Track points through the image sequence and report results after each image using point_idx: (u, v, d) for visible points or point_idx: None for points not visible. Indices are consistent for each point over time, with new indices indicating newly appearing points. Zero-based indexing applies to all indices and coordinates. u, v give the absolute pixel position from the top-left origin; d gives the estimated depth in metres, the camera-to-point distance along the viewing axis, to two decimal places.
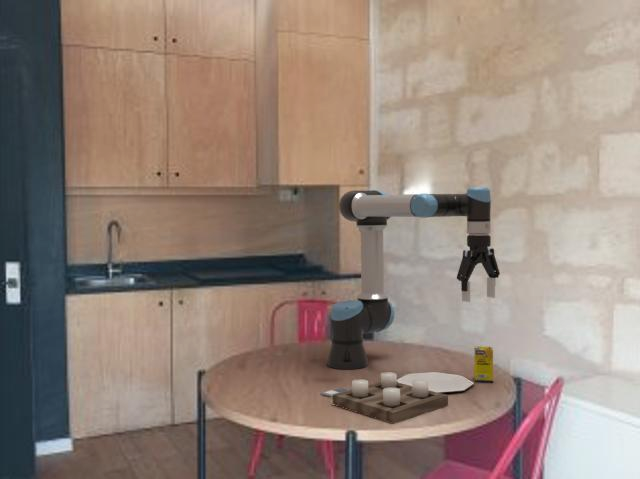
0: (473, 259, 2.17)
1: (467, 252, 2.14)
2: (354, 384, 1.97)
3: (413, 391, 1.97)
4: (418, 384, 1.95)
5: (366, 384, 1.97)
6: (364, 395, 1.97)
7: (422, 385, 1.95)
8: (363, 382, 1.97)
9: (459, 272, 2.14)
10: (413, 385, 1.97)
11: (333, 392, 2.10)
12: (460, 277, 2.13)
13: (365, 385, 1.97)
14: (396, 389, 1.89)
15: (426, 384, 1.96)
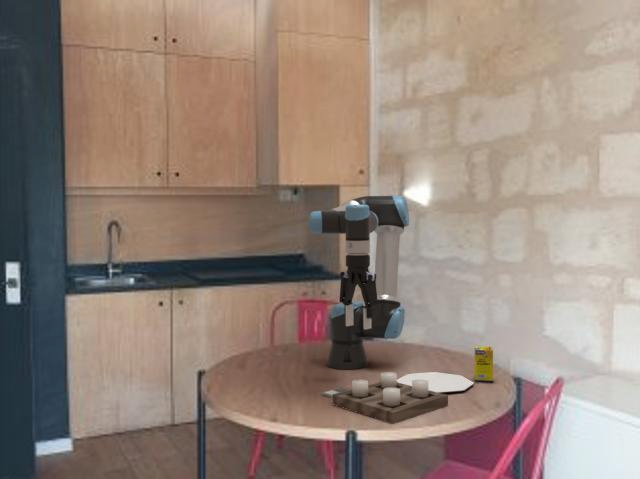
0: None
1: None
2: (354, 384, 1.97)
3: (413, 391, 1.97)
4: (418, 384, 1.95)
5: (366, 384, 1.97)
6: (364, 395, 1.97)
7: (422, 385, 1.95)
8: (363, 382, 1.97)
9: None
10: (413, 385, 1.97)
11: (333, 392, 2.10)
12: None
13: (365, 385, 1.97)
14: (396, 389, 1.89)
15: (426, 384, 1.96)
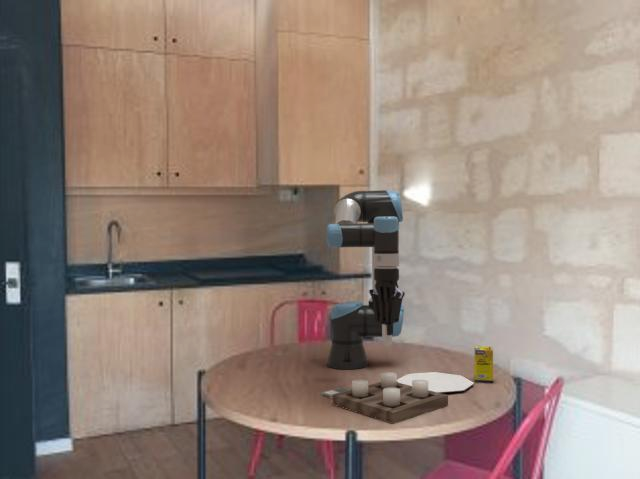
0: None
1: None
2: (354, 384, 1.97)
3: (413, 391, 1.97)
4: (418, 384, 1.95)
5: (366, 384, 1.97)
6: (364, 395, 1.97)
7: (422, 385, 1.95)
8: (363, 382, 1.97)
9: None
10: (413, 385, 1.97)
11: (333, 392, 2.10)
12: None
13: (365, 385, 1.97)
14: (396, 389, 1.89)
15: (426, 384, 1.96)
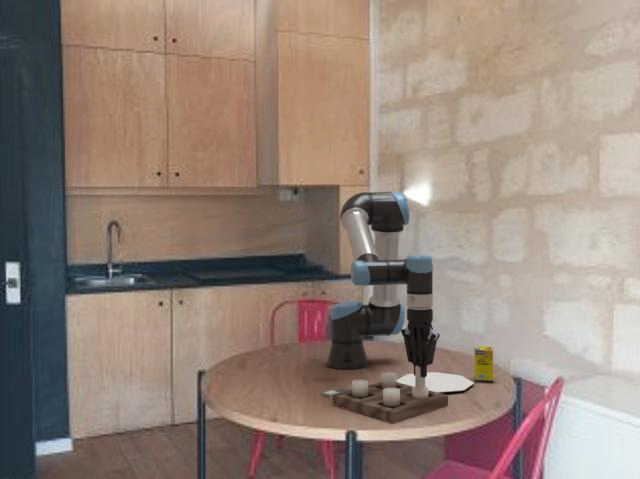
0: None
1: None
2: (354, 384, 1.97)
3: None
4: (418, 391, 1.95)
5: (366, 384, 1.97)
6: (364, 395, 1.97)
7: (422, 392, 1.95)
8: (363, 382, 1.97)
9: None
10: (413, 391, 1.97)
11: (333, 392, 2.10)
12: None
13: (365, 385, 1.97)
14: (396, 389, 1.89)
15: (426, 391, 1.96)
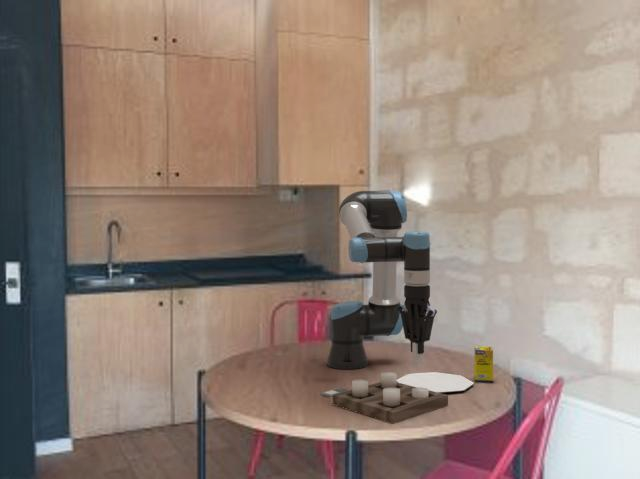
0: None
1: None
2: (354, 384, 1.97)
3: None
4: (418, 392, 1.95)
5: (366, 384, 1.97)
6: (364, 395, 1.97)
7: (422, 393, 1.95)
8: (363, 382, 1.97)
9: None
10: (413, 393, 1.97)
11: (333, 392, 2.10)
12: None
13: (365, 385, 1.97)
14: (396, 389, 1.89)
15: (426, 392, 1.96)
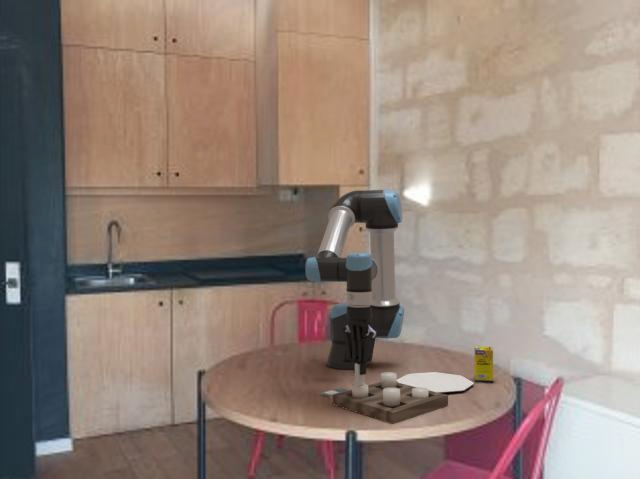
0: None
1: None
2: (354, 388, 1.97)
3: None
4: (418, 392, 1.95)
5: (366, 388, 1.97)
6: None
7: (422, 393, 1.95)
8: (363, 386, 1.97)
9: None
10: (413, 393, 1.97)
11: (333, 392, 2.10)
12: None
13: (365, 389, 1.97)
14: (396, 389, 1.89)
15: (426, 392, 1.96)
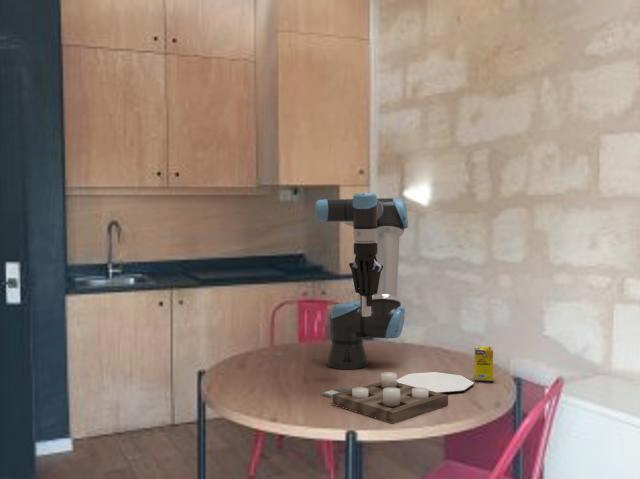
0: None
1: None
2: (354, 392, 1.97)
3: None
4: (418, 392, 1.95)
5: (366, 392, 1.97)
6: None
7: (422, 393, 1.95)
8: (363, 390, 1.98)
9: None
10: (413, 393, 1.97)
11: (333, 392, 2.10)
12: None
13: (365, 393, 1.97)
14: (396, 389, 1.89)
15: (426, 392, 1.96)
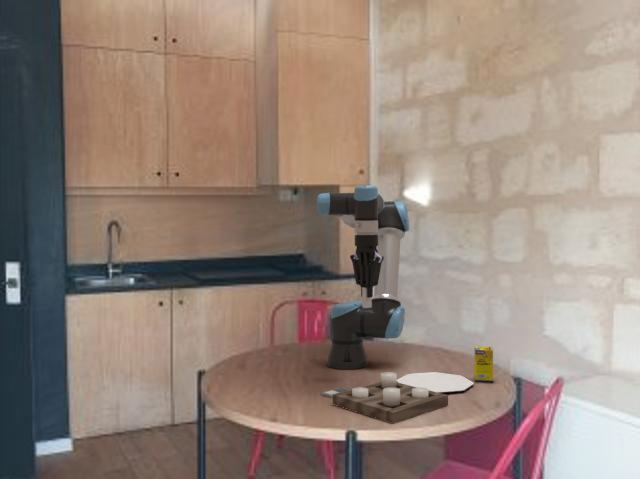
0: None
1: None
2: (354, 392, 1.97)
3: None
4: (418, 392, 1.95)
5: (366, 392, 1.97)
6: None
7: (422, 393, 1.95)
8: (363, 390, 1.98)
9: None
10: (413, 393, 1.97)
11: (333, 392, 2.10)
12: None
13: (365, 393, 1.97)
14: (396, 389, 1.89)
15: (426, 392, 1.96)
